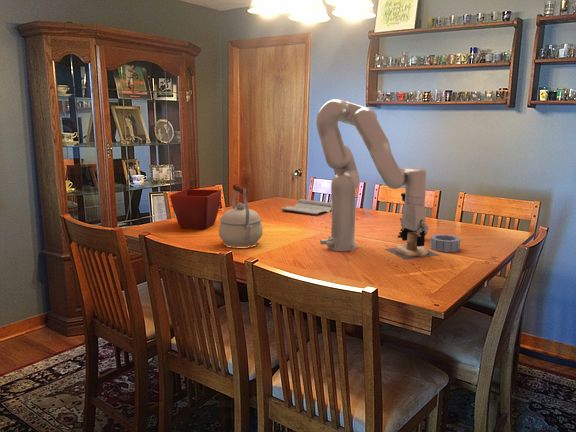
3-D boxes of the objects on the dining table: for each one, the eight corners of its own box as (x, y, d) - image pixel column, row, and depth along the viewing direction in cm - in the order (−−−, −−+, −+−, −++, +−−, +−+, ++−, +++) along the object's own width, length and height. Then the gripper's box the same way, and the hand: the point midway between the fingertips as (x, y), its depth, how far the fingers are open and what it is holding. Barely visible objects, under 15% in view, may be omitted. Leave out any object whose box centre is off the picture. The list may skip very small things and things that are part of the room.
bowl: (442, 254, 195) (443, 242, 194) (424, 247, 205) (425, 235, 204) (465, 252, 199) (466, 240, 198) (447, 245, 209) (447, 233, 208)
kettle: (213, 240, 216) (212, 183, 211) (254, 236, 222) (253, 181, 217) (227, 255, 193) (226, 192, 188) (272, 250, 199) (272, 189, 194)
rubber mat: (405, 260, 187) (405, 259, 187) (384, 250, 201) (384, 249, 201) (440, 256, 193) (440, 255, 192) (417, 246, 206) (417, 245, 206)
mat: (280, 212, 277) (280, 204, 276) (301, 206, 297) (301, 198, 296) (317, 217, 265) (317, 208, 265) (336, 210, 285) (336, 202, 284)
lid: (407, 258, 188) (408, 238, 187) (388, 249, 200) (389, 230, 198) (435, 254, 193) (436, 235, 191) (415, 246, 205) (416, 228, 203)
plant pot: (170, 229, 235) (168, 194, 231) (187, 221, 253) (186, 188, 249) (208, 232, 230) (207, 196, 227) (222, 223, 248) (222, 190, 245)
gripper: (394, 197, 199) (392, 239, 202) (420, 204, 183) (418, 249, 186) (410, 196, 201) (408, 237, 205) (436, 203, 186) (434, 247, 189)
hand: (412, 243), depth 196 cm, fingers open, 9 cm apart
